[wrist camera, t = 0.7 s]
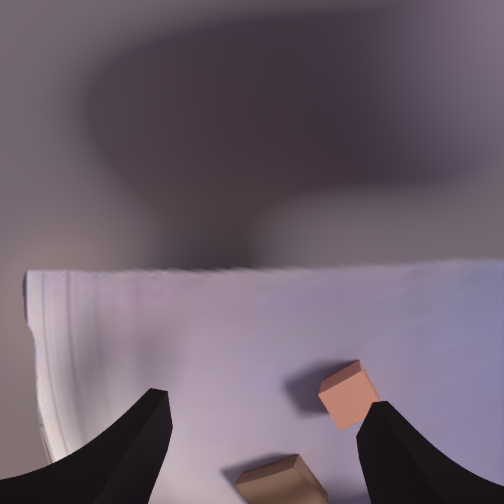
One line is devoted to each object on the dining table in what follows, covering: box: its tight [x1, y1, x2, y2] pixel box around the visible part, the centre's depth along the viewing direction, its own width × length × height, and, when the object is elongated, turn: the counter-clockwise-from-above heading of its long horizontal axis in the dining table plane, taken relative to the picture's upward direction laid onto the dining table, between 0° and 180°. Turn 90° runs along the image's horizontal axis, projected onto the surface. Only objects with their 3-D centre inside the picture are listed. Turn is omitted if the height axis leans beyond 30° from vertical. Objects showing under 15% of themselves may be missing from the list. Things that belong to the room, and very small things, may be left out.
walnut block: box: [234, 454, 328, 504], centre depth 25 cm, size 8×8×4 cm
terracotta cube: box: [318, 360, 381, 430], centre depth 25 cm, size 4×4×4 cm
